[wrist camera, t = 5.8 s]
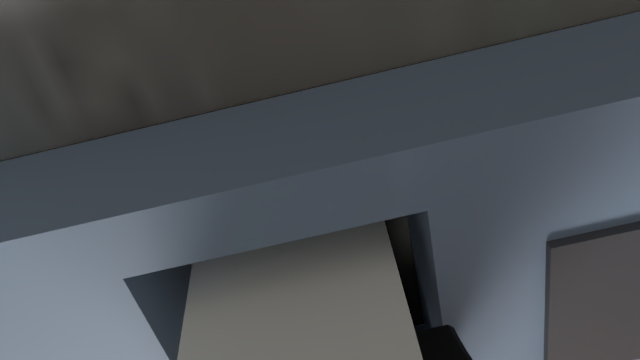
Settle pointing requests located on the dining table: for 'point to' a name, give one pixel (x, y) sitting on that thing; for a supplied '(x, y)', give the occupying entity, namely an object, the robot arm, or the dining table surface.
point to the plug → (301, 302)
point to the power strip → (356, 203)
